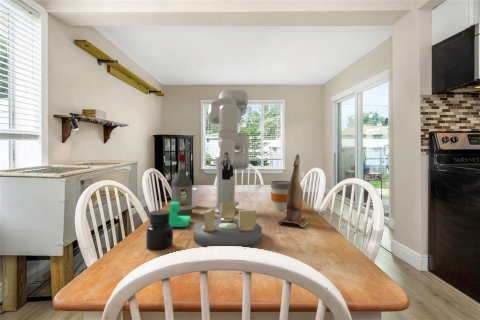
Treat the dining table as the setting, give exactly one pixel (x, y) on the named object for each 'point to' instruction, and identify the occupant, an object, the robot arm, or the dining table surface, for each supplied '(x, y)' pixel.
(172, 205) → the camera mount
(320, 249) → the dining table surface
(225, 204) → the footscrew knob
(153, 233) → the ink bottle
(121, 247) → the dining table surface
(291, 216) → the bird sculpture
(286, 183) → the reusable coffee cup
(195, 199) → the white cup
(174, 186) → the liquor
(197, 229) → the tribrach base
